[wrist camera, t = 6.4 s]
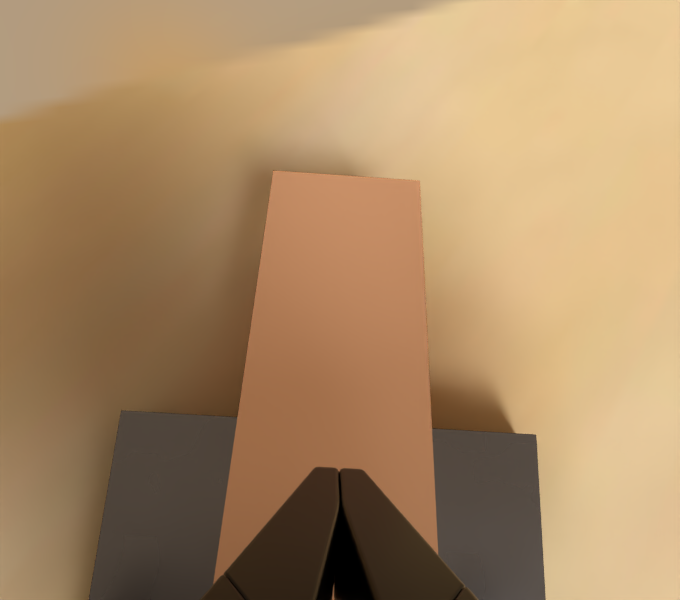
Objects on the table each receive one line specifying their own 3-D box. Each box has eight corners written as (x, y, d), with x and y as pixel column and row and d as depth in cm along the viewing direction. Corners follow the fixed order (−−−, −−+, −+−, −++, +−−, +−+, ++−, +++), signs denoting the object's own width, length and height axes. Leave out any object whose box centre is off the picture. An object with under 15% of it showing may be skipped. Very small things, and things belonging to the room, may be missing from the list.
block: (443, 665, 11) (419, 180, 18) (203, 653, 11) (273, 170, 18) (407, 680, 14) (399, 270, 21) (225, 671, 14) (277, 261, 21)
